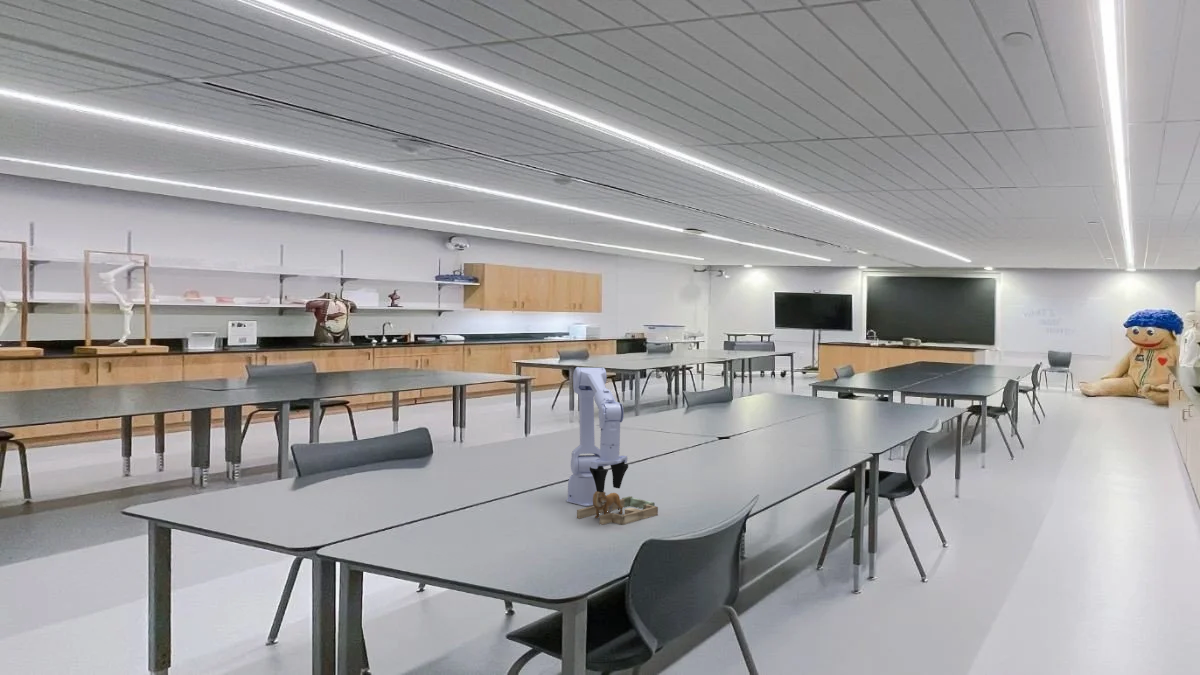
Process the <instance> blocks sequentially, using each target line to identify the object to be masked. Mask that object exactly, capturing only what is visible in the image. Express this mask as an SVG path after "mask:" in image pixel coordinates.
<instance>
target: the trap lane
mask: <svg viewBox="0 0 1200 675" xmlns="http://www.w3.org/2000/svg"><path fill="white" fill-rule="evenodd" d="M655 503H656V502H653V501H649V500H643V499H640V498H636V497H635V498H634V497H633V496H630V495H629V496H626V497H622V498H621V499H620V504H621V506H622V509H623V507H624V514H619V513H616V512H615V513H614V512H611V513H608V514H604V513H603V512H604V511H603V509H602V510H599V513H600V514H599V522H598V523H599V525H600V524H601V526H603V525H607V524H610V523H614V524H618V525H621V526H624V525H626V524H630V523H634V522H639V521H641V519H642V520H645V519H649V518H652V517H654V516H655V515H656V516H658V514H659V507H658V506H655ZM627 506H628V507H627ZM633 506H634V507H633ZM612 507H613V509H612V511H616V510H618V507H617V505H616V504H615V503H613V506H612ZM637 507H639V508H637ZM609 508H610V507H607V511H609ZM641 508H643V509H641ZM615 509H616V510H615ZM595 514H596V508H595V507H594V505H591V506H586V507H584V508H579V509H577V510H576V519H579V520H580V519H584V517H585V518H588V517H593V516H596V515H597V514H596V515H595ZM601 514H602V515H601ZM603 514H604V515H603ZM651 516H652V517H651ZM656 516H655V517H656ZM648 517H649V518H648Z"/></svg>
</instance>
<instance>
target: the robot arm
mask: <svg viewBox="0 0 1200 675" xmlns="http://www.w3.org/2000/svg"><path fill="white" fill-rule="evenodd" d="M607 376H608V375H607V371H606V368H605V367H603V366H602V367H585V366H584V367H581V366H576V367H575V368H574V370H573V376H572V382H573V383H572V384H573V388H572V389H573V393H576V394H577V395H578V396H577V397H578V403H579V404H578V405H579V406H578V408H579V410H578V411H579V412H578V416H579V445H578V446H577V447H575V448H574V449H573V450H572V452H571V458H570V471H571V473H572V474H571V475H570V476H569V478H568V482H567V499H565V502H567V503H571V504H575V505H579V506H582V507H591V506H594V505H593V494H594V493H595V492H596V491H597V492H605V486H606V485H605V483H606V478H607V474H608V472H609V469H605V467H608V466H610V468H611V474H612V487H613V489H620V488H621V486H622V483H623V482H622V481H623V479H624V476H625V474H626V472H627V470H628V469H629V464H628V455H620V449H621V448H620V444H621V440H620V439H621V423H623V420H624V412H625V411H624V407H623V406H624V405H623V403H622V402H619V401H616V399H615V396H614V394H613V392H612V391H611V390H610V389H609V388H606V384H607V378H608V377H607ZM594 402H595V404H594ZM595 405H596V407H597V409H598V413H597V415H598V423H599V425H598V426H599V428H600V437H599V438H600V441H599V443H600V444H599V446H600V447H597V445H595V444H596V442H595V407H594V406H595ZM586 454H587V455H586Z"/></svg>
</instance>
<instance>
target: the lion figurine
mask: <svg viewBox="0 0 1200 675" xmlns="http://www.w3.org/2000/svg"><path fill="white" fill-rule="evenodd" d="M620 498H621V497H620V495H619V493H617V492H611V493H608V494H607V493H606V492H605V491H604V492H597V491H596V492H595V493H594V494H593V505H592V506H594V507H595V508H596V515H594V519H598V517H600V514H599V510H602V509H603V511H604V513H602V515H604V514H608V513H612V512H613V510H612V509H613V507H612V506H613V503H615V504H616V505H617V507H618V509H617V511H618V514H619V515H623V508H622V506H621V504H620ZM607 507H610V508H609V511H608V512H607Z"/></svg>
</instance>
